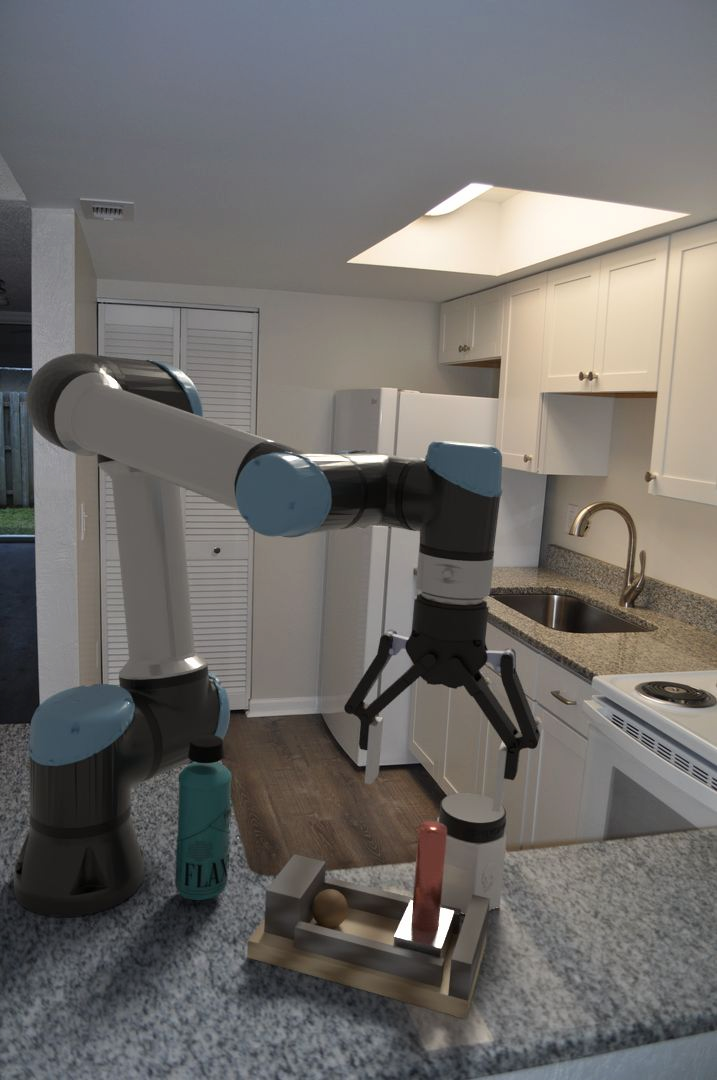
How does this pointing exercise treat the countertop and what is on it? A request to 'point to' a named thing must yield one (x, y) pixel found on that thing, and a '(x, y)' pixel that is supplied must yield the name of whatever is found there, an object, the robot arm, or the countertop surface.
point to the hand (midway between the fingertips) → (433, 792)
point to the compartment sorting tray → (367, 941)
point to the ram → (427, 897)
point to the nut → (329, 908)
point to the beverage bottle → (203, 821)
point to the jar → (472, 849)
